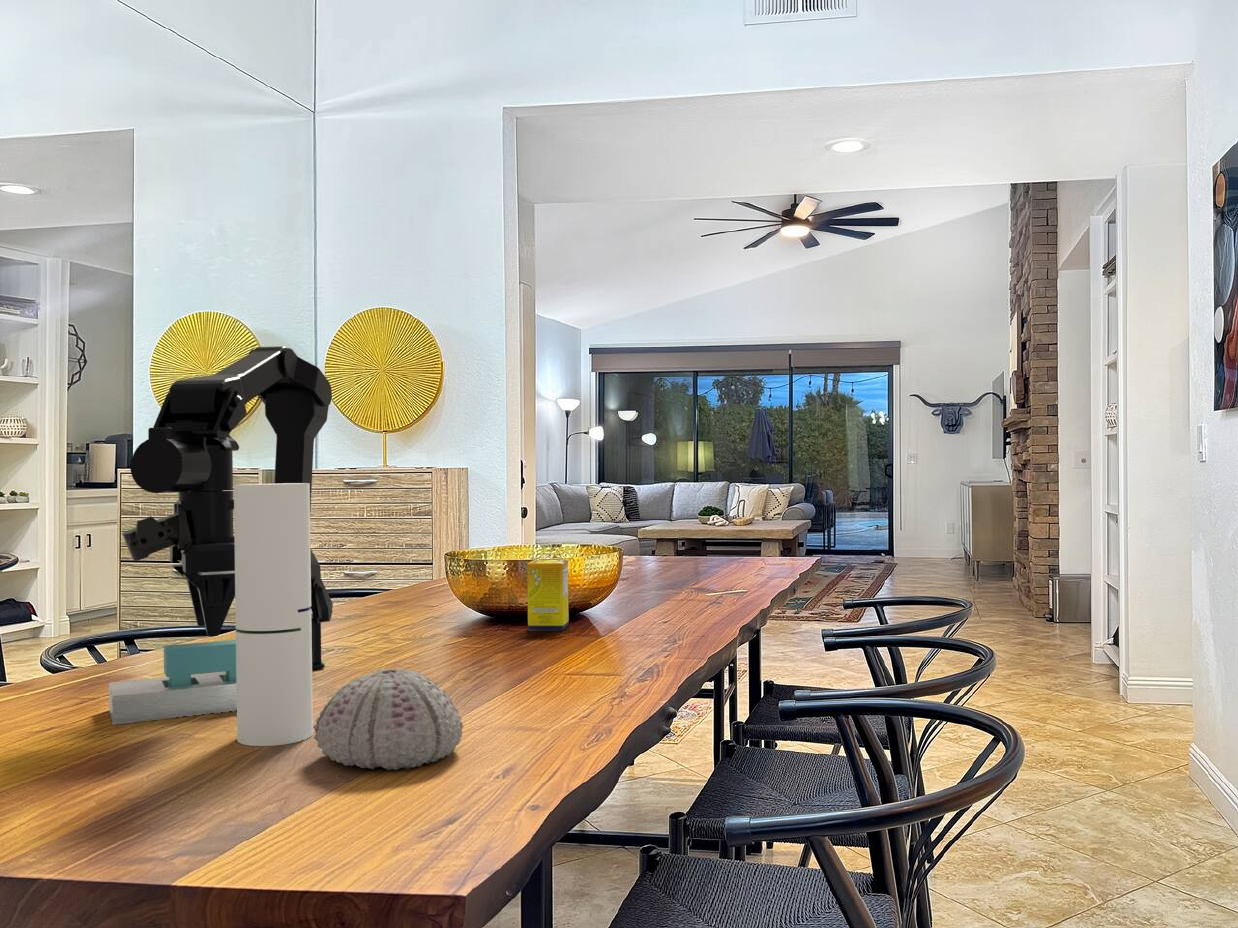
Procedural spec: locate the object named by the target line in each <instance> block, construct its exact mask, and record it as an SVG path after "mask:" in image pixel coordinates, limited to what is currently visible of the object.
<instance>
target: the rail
mask: <svg viewBox="0 0 1238 928" xmlns="http://www.w3.org/2000/svg"><path fill="white" fill-rule="evenodd" d="M108 686H109V687H108V689H109V691H108V693H109V696H108V697H109V698H108V699H109V700H108V701H109V702H108V703H109V704H108V705H109V706H108V707H109V708H108V709H109V713H110V719H111V723H112V726H113V725H115V726H117V725H123V724H133V723H134V724H135V723H140V722H141V723H142V722H150V721H151V722H152V721H160V720H168V719H169V720H170V719H177V718H176V717H179V718H184V717H183V716H188V717H194V716H193V715H196V716H203V715H202V714H205V715H211V714H210V713H214V714H221V712H223V713H229V711H232V712H237V711H236V710H237V686H236V681H228V682H226V672H216V673H205V674H195V675H191V685H188V686H178V687H169V677H166V676H165V677H157V678H148V679H136V680H135V679H134V680H126V681H116V682H114V681H113V682H109V683H108Z"/></svg>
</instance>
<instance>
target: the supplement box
mask: <svg viewBox="0 0 1238 928" xmlns="http://www.w3.org/2000/svg"><path fill="white" fill-rule="evenodd" d="M568 562H569V561H568V560H567V559H534V560H531V561H530V562H528V563H526V573H527V574H526V579H527V581H526V585H527V586H526V587H527V627H528V628H527V630H528V631H529V632H530V631H531V632H533V631H534V632H536V631H544V632H547V631H550V632H553V631H564V630H565V629H566V628H567V626H569V625H570V624H569V619H570V617H569V616H570V615H569V575H568V574H569V573H568V572H569V570H568V568H569V566H568V565H569V564H568Z"/></svg>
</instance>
